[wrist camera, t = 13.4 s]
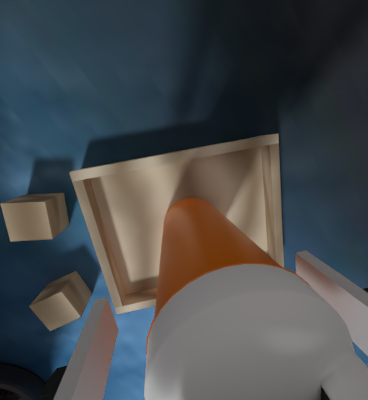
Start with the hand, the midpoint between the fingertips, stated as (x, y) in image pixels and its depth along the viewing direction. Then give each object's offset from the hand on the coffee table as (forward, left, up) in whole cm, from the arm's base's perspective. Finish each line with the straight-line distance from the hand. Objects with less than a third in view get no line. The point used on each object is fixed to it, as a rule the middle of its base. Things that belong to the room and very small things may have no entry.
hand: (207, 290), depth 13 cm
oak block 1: (-16, +5, -13) cm, 21 cm away
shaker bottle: (+1, 0, -12) cm, 12 cm away
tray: (0, 0, -13) cm, 13 cm away
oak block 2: (-17, -6, -13) cm, 22 cm away
